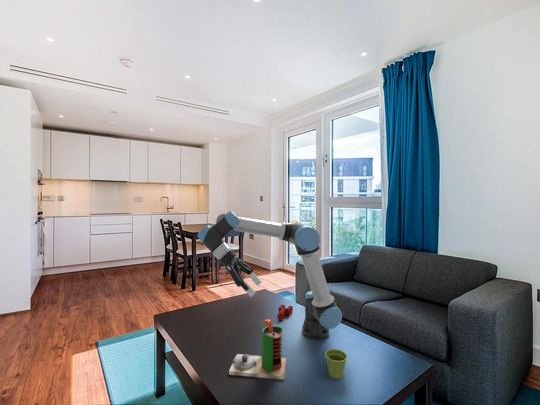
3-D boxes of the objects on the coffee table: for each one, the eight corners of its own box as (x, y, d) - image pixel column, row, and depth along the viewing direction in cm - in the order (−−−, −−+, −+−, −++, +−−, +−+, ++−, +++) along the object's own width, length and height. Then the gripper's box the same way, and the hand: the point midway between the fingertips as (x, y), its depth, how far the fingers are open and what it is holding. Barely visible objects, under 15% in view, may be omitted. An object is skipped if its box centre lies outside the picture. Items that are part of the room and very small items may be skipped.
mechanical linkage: (282, 310, 187) (282, 303, 187) (292, 312, 184) (292, 304, 184) (274, 320, 172) (274, 312, 172) (285, 322, 170) (285, 314, 169)
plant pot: (331, 365, 127) (331, 346, 126) (350, 373, 121) (350, 353, 120) (321, 375, 119) (321, 355, 119) (341, 384, 113) (341, 364, 113)
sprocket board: (286, 361, 129) (286, 351, 129) (284, 379, 117) (284, 369, 116) (236, 357, 133) (236, 347, 133) (229, 374, 120) (228, 364, 120)
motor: (279, 373, 118) (279, 327, 117) (259, 371, 120) (259, 325, 119) (283, 359, 128) (283, 317, 127) (264, 357, 130) (264, 315, 129)
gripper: (227, 253, 139) (256, 285, 137) (208, 267, 114) (243, 305, 113) (238, 243, 138) (267, 275, 136) (221, 255, 113) (256, 294, 112)
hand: (256, 289), depth 124 cm, fingers open, 13 cm apart
